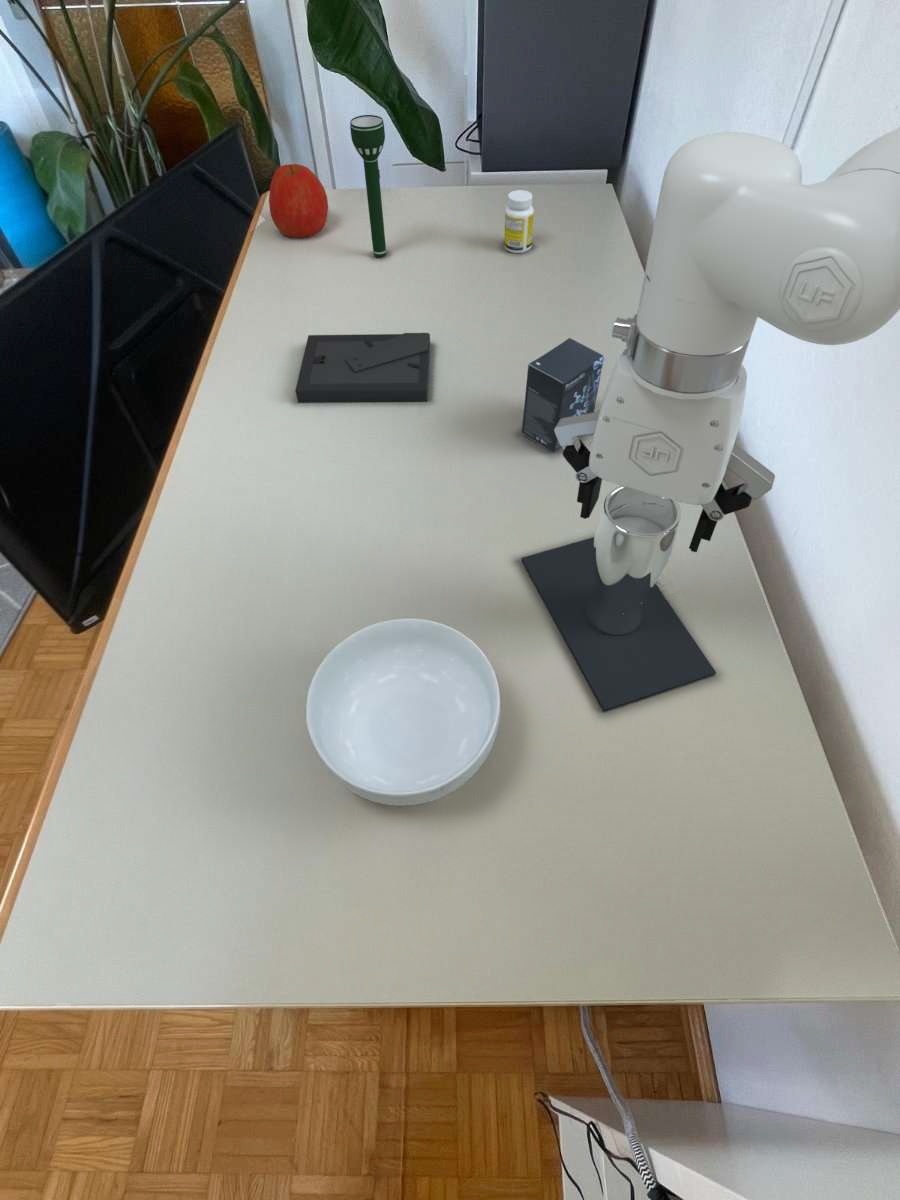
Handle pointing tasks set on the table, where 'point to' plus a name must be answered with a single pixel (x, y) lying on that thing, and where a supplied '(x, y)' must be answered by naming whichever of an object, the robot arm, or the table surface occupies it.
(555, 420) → the box
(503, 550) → the table surface
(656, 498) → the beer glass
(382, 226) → the flashlight
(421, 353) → the picture frame
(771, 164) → the robot arm
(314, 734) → the cereal bowl
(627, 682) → the placemat
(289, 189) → the apple
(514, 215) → the supplement bottle
